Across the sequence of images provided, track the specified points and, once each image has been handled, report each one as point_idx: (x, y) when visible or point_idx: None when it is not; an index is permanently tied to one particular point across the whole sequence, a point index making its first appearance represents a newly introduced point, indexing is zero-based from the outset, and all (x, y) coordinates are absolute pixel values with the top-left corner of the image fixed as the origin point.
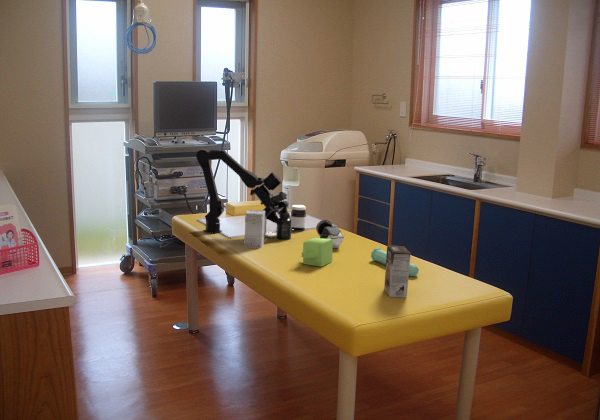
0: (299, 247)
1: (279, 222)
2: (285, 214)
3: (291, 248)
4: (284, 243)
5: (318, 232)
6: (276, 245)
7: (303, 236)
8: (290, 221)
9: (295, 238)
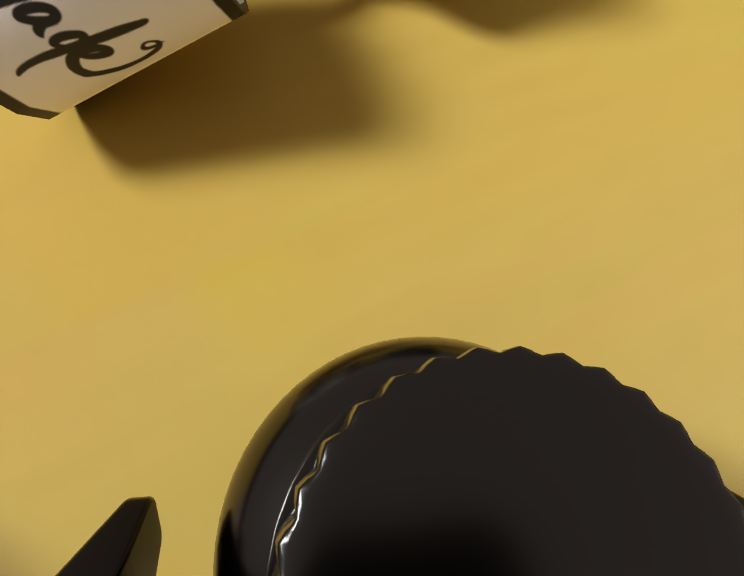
0: (604, 153)
1: None
2: (681, 432)
3: (694, 199)
4: (592, 353)
5: (52, 89)
6: (732, 385)
7: (98, 323)
8: (439, 337)
9: (276, 361)
